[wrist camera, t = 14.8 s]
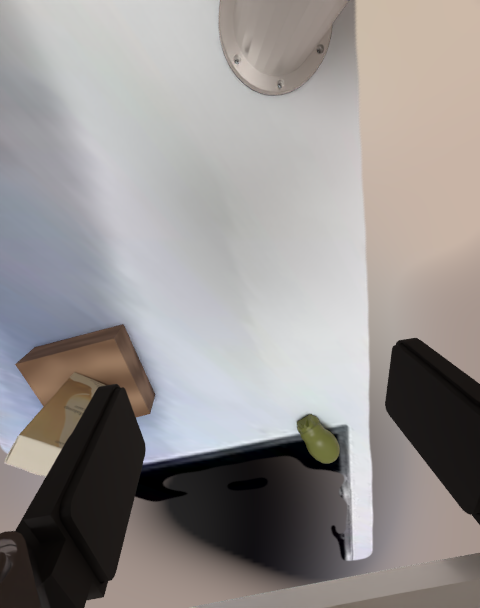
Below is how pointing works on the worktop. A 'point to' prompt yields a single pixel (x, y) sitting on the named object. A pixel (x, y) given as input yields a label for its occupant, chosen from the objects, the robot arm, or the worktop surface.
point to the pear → (318, 439)
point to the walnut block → (89, 366)
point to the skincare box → (52, 426)
